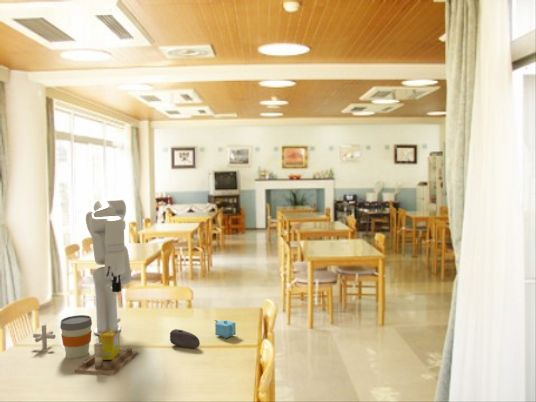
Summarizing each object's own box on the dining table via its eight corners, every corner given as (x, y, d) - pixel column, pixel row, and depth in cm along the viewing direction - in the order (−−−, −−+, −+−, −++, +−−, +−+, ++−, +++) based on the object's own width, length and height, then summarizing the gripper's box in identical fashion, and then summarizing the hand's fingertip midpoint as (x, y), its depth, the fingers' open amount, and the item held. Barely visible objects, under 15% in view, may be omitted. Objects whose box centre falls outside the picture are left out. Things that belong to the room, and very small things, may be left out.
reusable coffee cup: (99, 350, 213) (98, 316, 212) (79, 361, 201) (77, 325, 200) (75, 347, 217) (74, 313, 216) (54, 357, 205) (53, 322, 204)
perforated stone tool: (203, 348, 214) (202, 332, 214) (195, 352, 210) (195, 336, 209) (176, 342, 222) (176, 327, 221) (168, 346, 217) (168, 330, 217)
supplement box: (105, 355, 203) (104, 330, 202) (119, 356, 202) (118, 330, 202) (99, 361, 197) (98, 334, 196) (114, 361, 197) (113, 335, 196)
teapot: (210, 335, 230) (209, 319, 230) (219, 331, 235) (218, 316, 235) (229, 340, 223) (228, 324, 222) (238, 336, 228) (237, 320, 227)
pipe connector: (47, 352, 211) (46, 329, 211) (27, 350, 213) (26, 328, 213) (61, 344, 221) (60, 322, 220) (42, 342, 223) (41, 321, 223)
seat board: (103, 351, 211) (103, 328, 210) (138, 353, 208) (137, 330, 207) (74, 372, 189) (73, 346, 189) (113, 375, 186) (112, 349, 186)
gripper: (115, 245, 213) (117, 287, 214) (97, 251, 198) (99, 295, 199) (131, 245, 211) (133, 287, 212) (114, 251, 197) (116, 296, 198)
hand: (116, 291), depth 206 cm, fingers closed
